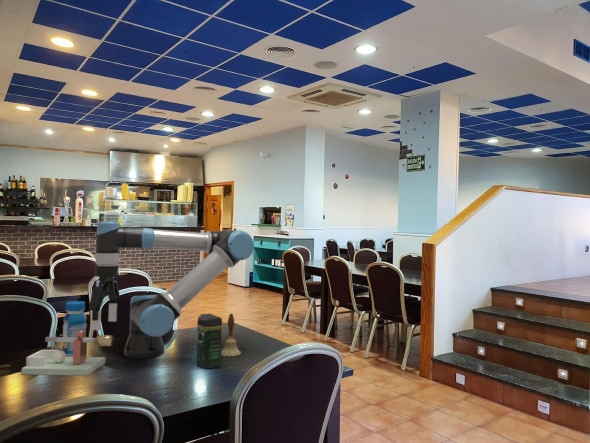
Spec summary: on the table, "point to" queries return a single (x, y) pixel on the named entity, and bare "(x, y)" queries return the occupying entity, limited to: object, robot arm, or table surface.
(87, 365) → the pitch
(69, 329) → the beverage bottle
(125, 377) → the table surface
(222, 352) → the hand bell
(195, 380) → the table surface
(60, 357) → the ball
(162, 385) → the table surface
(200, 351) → the coffee jar
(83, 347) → the player rod
